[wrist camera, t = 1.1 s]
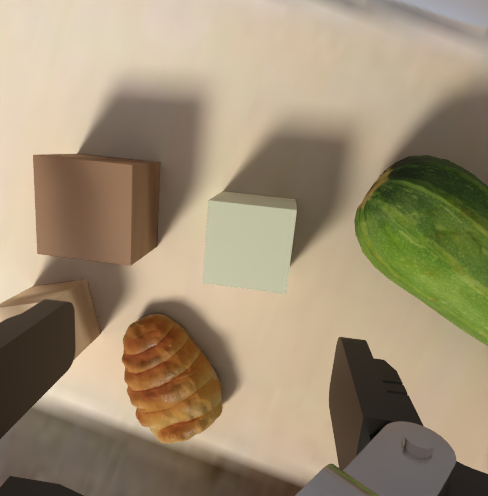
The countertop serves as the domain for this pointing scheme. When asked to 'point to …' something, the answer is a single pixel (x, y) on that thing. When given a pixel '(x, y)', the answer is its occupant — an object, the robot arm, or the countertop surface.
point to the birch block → (63, 291)
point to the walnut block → (96, 207)
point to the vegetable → (431, 237)
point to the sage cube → (249, 241)
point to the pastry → (169, 379)
